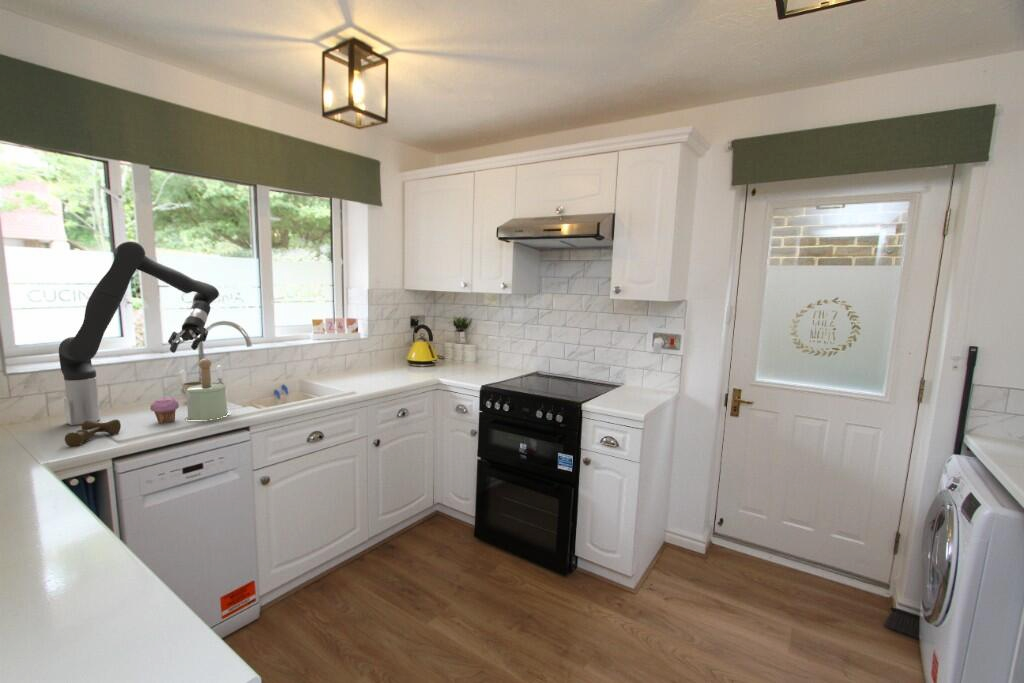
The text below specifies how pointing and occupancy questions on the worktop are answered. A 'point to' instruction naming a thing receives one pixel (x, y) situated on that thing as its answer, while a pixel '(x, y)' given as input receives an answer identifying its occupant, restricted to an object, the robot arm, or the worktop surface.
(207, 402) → the green knobbed canister
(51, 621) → the worktop surface
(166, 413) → the cupcake
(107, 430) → the kendama
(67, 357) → the robot arm
